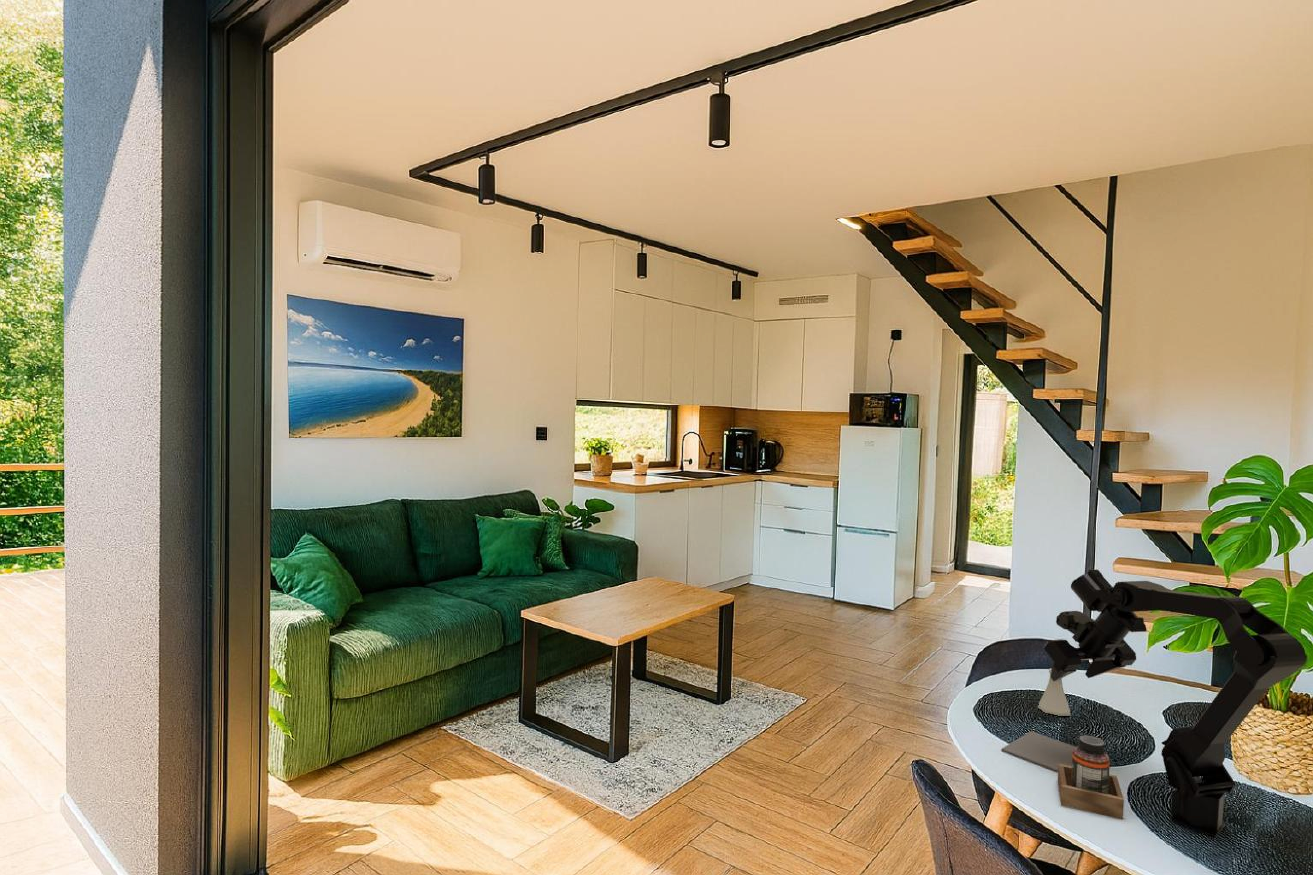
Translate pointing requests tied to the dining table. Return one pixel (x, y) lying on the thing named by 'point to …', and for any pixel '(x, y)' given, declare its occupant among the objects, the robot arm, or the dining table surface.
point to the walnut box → (1090, 795)
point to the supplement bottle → (1090, 765)
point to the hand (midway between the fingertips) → (1070, 677)
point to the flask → (1054, 699)
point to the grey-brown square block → (1041, 751)
